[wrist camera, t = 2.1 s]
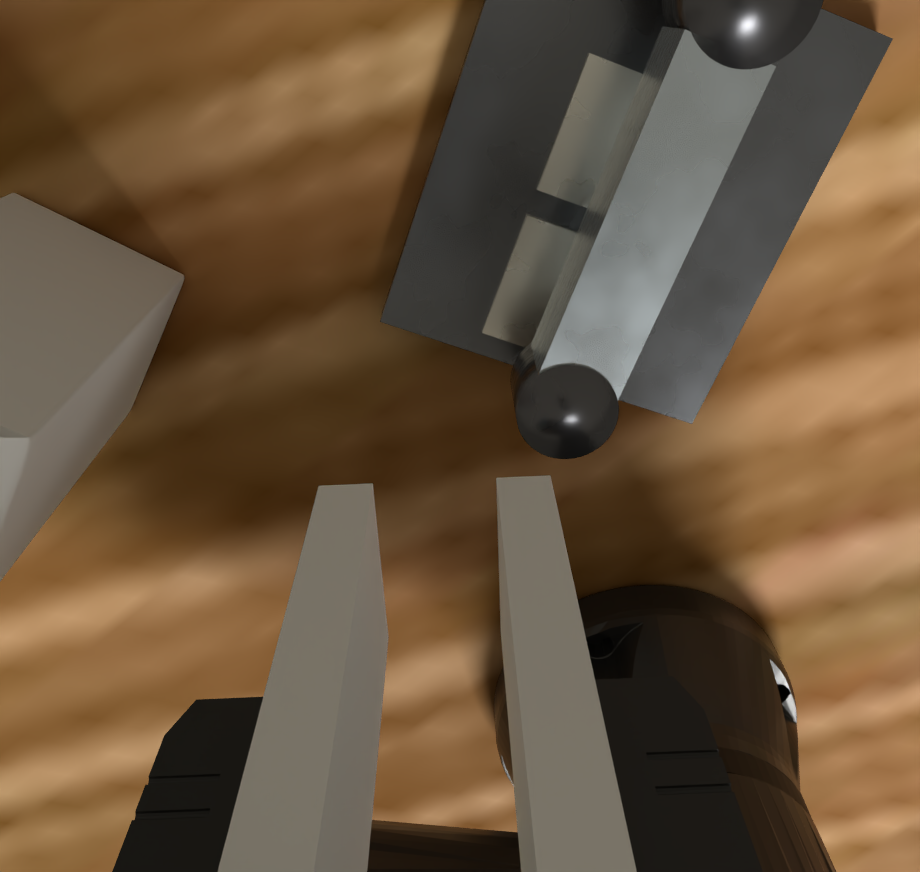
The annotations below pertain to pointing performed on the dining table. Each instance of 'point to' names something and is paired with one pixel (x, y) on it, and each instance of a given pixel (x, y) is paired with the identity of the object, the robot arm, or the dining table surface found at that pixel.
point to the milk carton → (66, 355)
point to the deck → (578, 171)
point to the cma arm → (648, 212)
